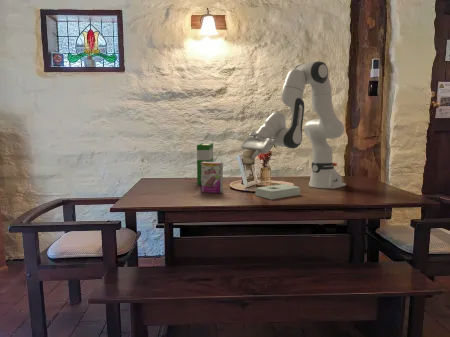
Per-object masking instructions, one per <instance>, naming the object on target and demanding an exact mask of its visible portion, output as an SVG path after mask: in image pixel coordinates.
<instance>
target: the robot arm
mask: <svg viewBox="0 0 450 337" xmlns="http://www.w3.org/2000/svg"><path fill="white" fill-rule="evenodd" d="M305 85H310V86H311V88H310V92H311V95H310V96H311V109H312V111H313V112H315V114H316V115H317V117H318V118H315V119H314V118H313V119H310V120H307V121H306V122H305V123H304V115H305V102H304V100H303V96H304V91H305ZM332 95H333V94H332V87H331V81H330V77H329V68H328V65H327V64H326V63H325V62H324V61H319V60H318V61H310V62H307V63H303V64H299V65H296V66H295V67H293V68H292V69H291V70H290V71H288V74H287V76H286V78H285V80H284V82H283V87H282V90H281V96H280V97H281V101H282V103H283V104H284V105H285V106H287V107H288V108H290V110H291V119H290V127H289V128H287V126H286V125H287V124H286V122H287V121H286V120H287V117H286V115H284V113H281V112H277V111H276V112H272V113H271V114H270V115H269V116H268V117H267V118H266V119H265V121H264V123H263V124H262V125H261V126H260V127H259V128H258V129H256V130H253V131H251V132H250V133H249V134H248V136H247V137H246V139H245V140H244V141H243V142H242V144H241V146H240V148H241V149H242V151H243V150H255V153H254V154H252V155H251V158H252V159H255V160H256V157H258V156H259V155H261V154H268V153H269V152H270V150H271V149H272V148H273V145H274V146H276V147H283V148H288V149H292V150H293V149H297V148H298V147H299V146H300V145H301V143H302V141H303V133H304V134H305V135H306V136H307V137H308V139H309V141H310V143H311V148H312V162H311V172H310V179H309V182H308V187H311V188H315V189H317V188H318V189H338V188H342V187H345V186H346V185H347V184H346V182H345V183H344V182H343V181H342V180H343V178H342V174H340V173H339V172H338V171H337V170H336V169H335V167H337V166H338V163H337V162H333V148H332V146H330V145H329V144H328V140H329V139H330V140H332V139H337V138H340V137H341V136H342V135H343V134H344V130H345V127H344V126H345V125H344V123H343V122H342V121H341V120H340V119H339V118H338V116H337V115H336V113H335V111H334V110H335V109H334V106H333V99H332V98H333V96H332ZM303 124H304V126H303ZM303 131H304V132H303ZM327 139H328V140H327ZM241 156H242V157H243V154H242V155H241Z"/></svg>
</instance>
